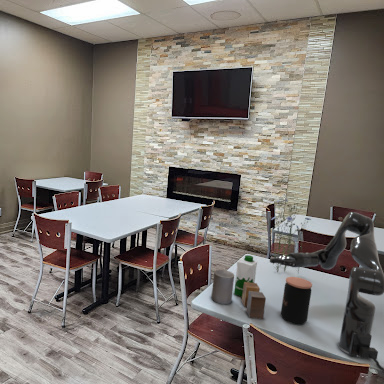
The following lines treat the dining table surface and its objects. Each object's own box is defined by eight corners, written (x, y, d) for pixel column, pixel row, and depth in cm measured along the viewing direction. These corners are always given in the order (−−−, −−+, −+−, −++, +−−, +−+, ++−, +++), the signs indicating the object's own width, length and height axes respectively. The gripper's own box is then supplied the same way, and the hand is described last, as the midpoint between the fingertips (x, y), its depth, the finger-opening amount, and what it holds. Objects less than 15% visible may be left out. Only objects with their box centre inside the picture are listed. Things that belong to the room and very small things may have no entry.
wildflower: (307, 280, 198) (318, 205, 191) (266, 274, 202) (276, 201, 195) (296, 266, 220) (306, 199, 213) (259, 262, 224) (268, 195, 217)
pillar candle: (207, 295, 170) (210, 267, 167) (224, 294, 173) (227, 266, 170) (218, 305, 161) (221, 275, 158) (235, 303, 164) (239, 274, 161)
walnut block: (263, 319, 150) (265, 298, 149) (249, 317, 151) (251, 296, 149) (259, 312, 156) (262, 292, 155) (246, 310, 157) (248, 290, 155)
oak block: (257, 308, 160) (259, 288, 159) (244, 306, 161) (246, 287, 159) (254, 302, 166) (256, 283, 164) (241, 300, 167) (243, 281, 165)
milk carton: (254, 294, 174) (259, 257, 171) (248, 300, 168) (252, 262, 165) (238, 289, 180) (242, 253, 177) (231, 294, 173) (235, 257, 170)
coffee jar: (284, 310, 159) (289, 274, 156) (309, 319, 153) (314, 281, 150) (277, 319, 151) (282, 281, 148) (303, 328, 144) (309, 289, 141)
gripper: (291, 249, 183) (263, 249, 179) (309, 257, 171) (280, 258, 166) (289, 262, 184) (262, 263, 180) (307, 271, 172) (278, 272, 168)
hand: (270, 260), depth 173 cm, fingers closed
